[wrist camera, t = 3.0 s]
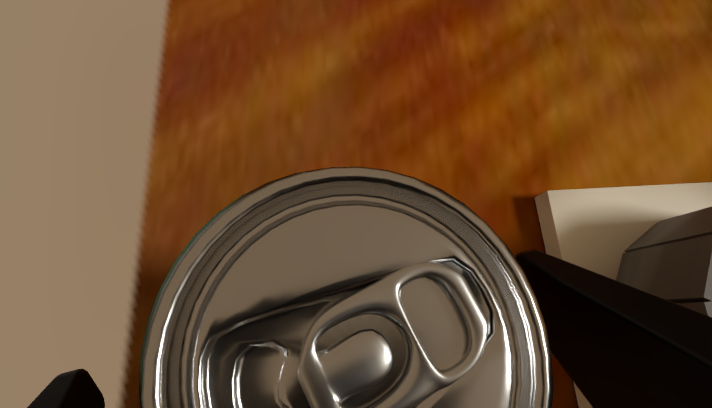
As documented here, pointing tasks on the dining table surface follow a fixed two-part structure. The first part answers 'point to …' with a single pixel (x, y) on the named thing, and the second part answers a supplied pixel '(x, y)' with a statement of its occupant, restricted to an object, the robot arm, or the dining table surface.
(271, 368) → the soda can
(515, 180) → the dining table surface
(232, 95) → the dining table surface
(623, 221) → the collar socket
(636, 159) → the dining table surface
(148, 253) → the dining table surface
